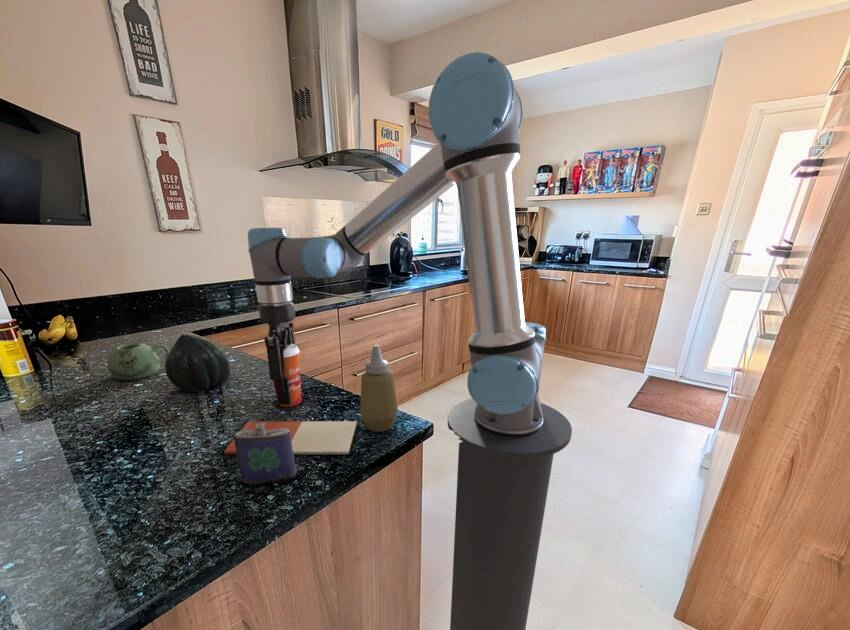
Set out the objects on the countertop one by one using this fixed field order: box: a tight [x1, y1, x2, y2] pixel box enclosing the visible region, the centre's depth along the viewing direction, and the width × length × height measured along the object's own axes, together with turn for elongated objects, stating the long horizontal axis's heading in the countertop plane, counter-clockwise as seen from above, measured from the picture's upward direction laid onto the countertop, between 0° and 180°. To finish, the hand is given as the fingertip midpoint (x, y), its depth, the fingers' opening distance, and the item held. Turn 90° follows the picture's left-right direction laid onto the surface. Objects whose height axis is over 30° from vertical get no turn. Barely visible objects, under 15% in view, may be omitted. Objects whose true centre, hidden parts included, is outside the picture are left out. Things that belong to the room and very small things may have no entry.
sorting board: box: [223, 420, 358, 455], centre depth 80 cm, size 24×12×1 cm, turn 88°
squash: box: [164, 333, 231, 393], centre depth 104 cm, size 14×15×15 cm
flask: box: [233, 422, 297, 484], centre depth 66 cm, size 9×3×11 cm, turn 96°
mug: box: [106, 342, 170, 381], centre depth 114 cm, size 16×13×9 cm
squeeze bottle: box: [359, 344, 399, 433], centre depth 80 cm, size 8×8×18 cm
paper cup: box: [265, 344, 302, 408], centre depth 93 cm, size 8×8×14 cm
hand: (289, 397), depth 95 cm, fingers closed on paper cup, 6 cm apart
